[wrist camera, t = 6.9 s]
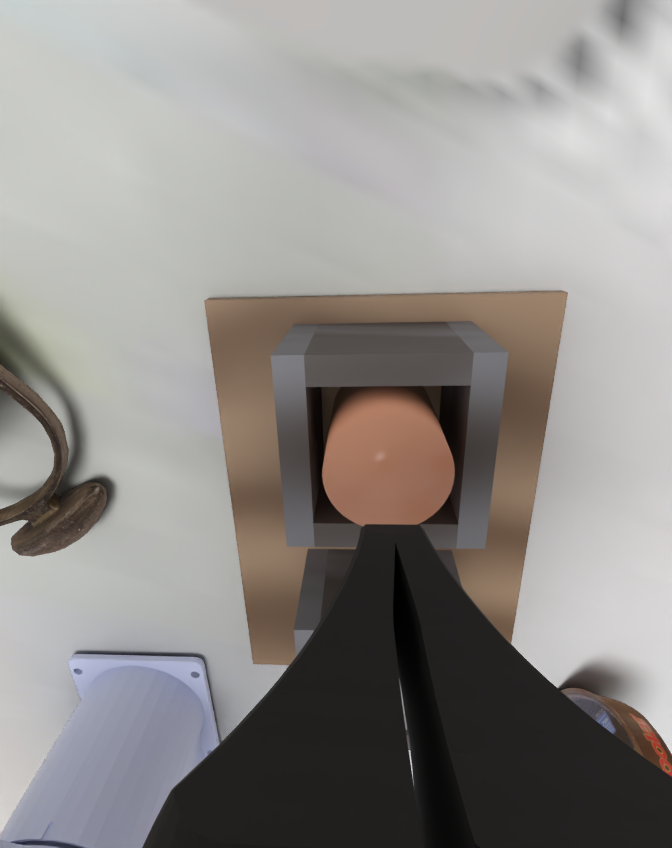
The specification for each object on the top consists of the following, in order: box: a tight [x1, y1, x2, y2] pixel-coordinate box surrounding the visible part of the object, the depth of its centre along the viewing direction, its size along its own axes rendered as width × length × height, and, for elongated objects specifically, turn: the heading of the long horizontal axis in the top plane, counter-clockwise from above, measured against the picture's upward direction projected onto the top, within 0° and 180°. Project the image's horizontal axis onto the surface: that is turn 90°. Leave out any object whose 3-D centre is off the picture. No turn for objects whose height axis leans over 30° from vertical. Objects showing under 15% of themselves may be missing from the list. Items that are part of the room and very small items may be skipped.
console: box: [204, 291, 568, 750], centre depth 20 cm, size 20×14×6 cm
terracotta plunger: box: [322, 386, 455, 526], centre depth 16 cm, size 4×4×5 cm
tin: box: [561, 688, 672, 776], centre depth 24 cm, size 15×3×8 cm, turn 160°
